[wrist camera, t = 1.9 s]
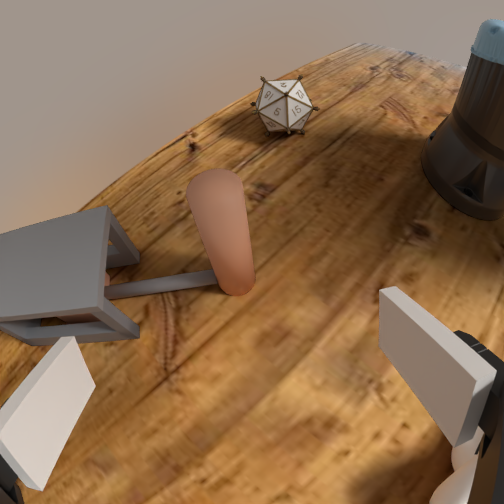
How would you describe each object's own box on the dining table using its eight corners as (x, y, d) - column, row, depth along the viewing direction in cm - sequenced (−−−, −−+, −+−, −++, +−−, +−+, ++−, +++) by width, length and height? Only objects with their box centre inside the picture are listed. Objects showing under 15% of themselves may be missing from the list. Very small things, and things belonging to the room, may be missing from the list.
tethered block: (251, 253, 32) (237, 157, 21) (259, 299, 30) (248, 215, 19) (72, 282, 32) (3, 215, 21) (69, 324, 30) (-12, 267, 18)
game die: (269, 148, 45) (226, 96, 40) (312, 113, 45) (273, 60, 39) (294, 160, 38) (244, 95, 33) (344, 119, 37) (300, 54, 32)
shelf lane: (139, 253, 33) (107, 205, 26) (139, 338, 29) (96, 306, 21) (40, 271, 33) (-1, 234, 26) (31, 345, 28) (-20, 319, 21)
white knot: (529, 454, 18) (585, 448, 10) (457, 544, 15) (506, 565, 7) (481, 393, 23) (539, 374, 15) (399, 487, 20) (446, 506, 12)
